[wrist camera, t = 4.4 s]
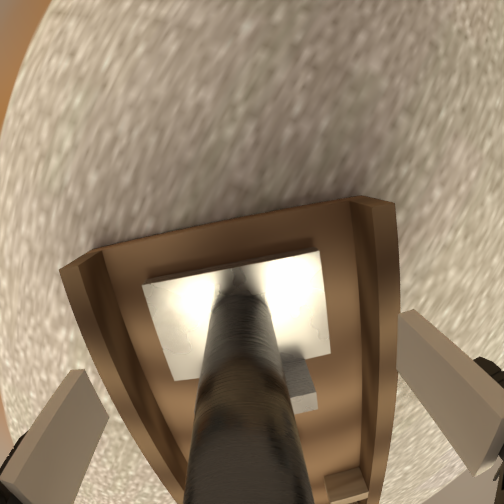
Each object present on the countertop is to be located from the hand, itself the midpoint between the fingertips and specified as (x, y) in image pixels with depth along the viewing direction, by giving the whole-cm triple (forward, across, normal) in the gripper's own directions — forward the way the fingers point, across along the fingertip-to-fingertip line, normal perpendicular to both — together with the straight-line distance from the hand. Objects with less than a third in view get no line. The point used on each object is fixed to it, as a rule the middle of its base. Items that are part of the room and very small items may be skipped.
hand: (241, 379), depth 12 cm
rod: (+6, 0, -1) cm, 6 cm away
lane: (+7, 0, -10) cm, 12 cm away
